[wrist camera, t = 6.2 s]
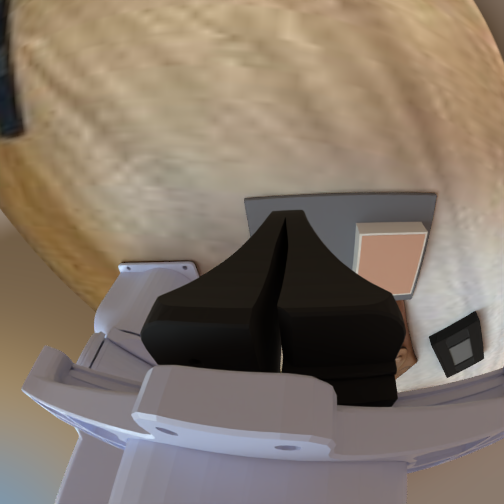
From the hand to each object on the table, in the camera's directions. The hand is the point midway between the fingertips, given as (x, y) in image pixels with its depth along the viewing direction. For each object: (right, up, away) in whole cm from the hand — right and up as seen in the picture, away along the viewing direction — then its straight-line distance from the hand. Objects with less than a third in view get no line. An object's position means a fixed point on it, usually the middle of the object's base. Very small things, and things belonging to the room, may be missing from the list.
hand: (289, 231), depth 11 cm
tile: (+7, -2, +11) cm, 13 cm away
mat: (+7, -1, +12) cm, 14 cm away
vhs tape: (+29, -14, +19) cm, 38 cm away
